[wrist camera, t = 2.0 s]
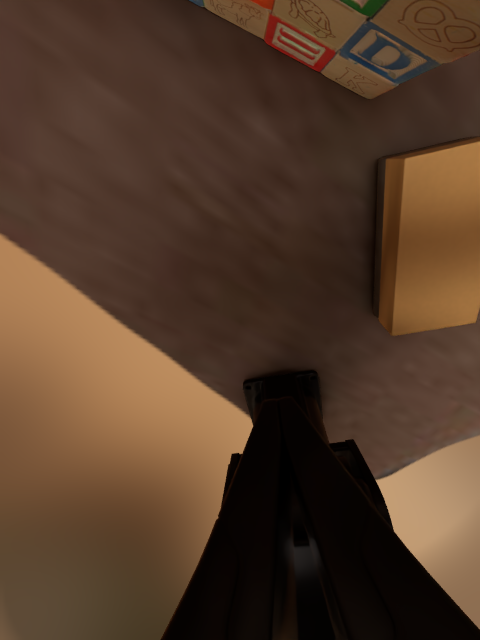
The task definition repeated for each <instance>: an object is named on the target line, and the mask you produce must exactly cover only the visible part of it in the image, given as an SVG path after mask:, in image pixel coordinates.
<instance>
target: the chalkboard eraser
mask: <svg viewBox="0 0 480 640" xmlns="http://www.w3.org/2000/svg"><path fill="white" fill-rule="evenodd" d="M479 307H480V137H479V136H476V137H469V138H463V139H458V140H454V141H449V142H445V143H441V144H437V145H432V146H428V147H424V148H419V149H415V150H411V151H406V152H402V153H398V154H394V155H389V156H385V157H381V158H379V159H378V181H377V211H376V241H375V271H374V301H373V314H374V316H376V317H377V318H379V322H380V323H381V324H382V325H383V326H384V328H385V329H386V330H387V331H388V332H389V334H390V335H391V336H396V335H402V334H408V333H415V332H421V331H427V330H433V329H440V328H446V327H452V326H458V325H465V324H471V323H476V319H477V315H478V311H479Z"/></svg>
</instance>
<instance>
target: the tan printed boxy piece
mask: <svg viewBox="0 0 480 640" xmlns="http://www.w3.org/2000/svg"><path fill="white" fill-rule="evenodd" d="M189 1H191V2H193V3H194V4H196V5H198V6H200V7H205V8H207V9H208V10H209V11H211V12H213V13H215V14H216V15H218V16H220V17H222V18H224V19H226V20H228V21H229V22H231V23H233V24H235V25H237V26H239V27H241V28H243V29H244V30H246V31H248V32H250V33H252V34H254V35H256V36H258V37H260V38H262V39H263V40H264V41H265V42H266V43H267V44H268V45H270V46H272V47H273V48H275V49H277V50H279V51H280V52H282V53H284V54H286V55H288V56H290V57H292V58H293V59H295V60H297V61H299V62H301V63H303V64H304V65H306V66H308V67H310V68H312V69H314V70H315V71H318V72H321V73H322V74H323V75H324V76H326V77H327V78H329V79H331V80H333V81H335V82H337V83H338V84H340V85H342V86H344V87H346V88H348V89H350V90H351V91H353V92H355V93H357V94H359V95H361V96H363V97H365V98H367V99H373V98H375V97H377V96H379V95H380V94H382V93H384V92H387V91H389V90H391V89H393V88H395V87H397V86H398V85H399V84H400V83H403V82H406V81H408V80H410V79H412V78H414V77H416V76H418V75H420V74H422V73H424V72H426V71H429V70H431V69H434V68H436V67H438V66H440V65H442V64H443V63H450V62H453V61H455V60H457V59H459V58H461V57H464V56H467V55H469V54H470V53H472V52H475V51H477V50H479V49H480V0H189Z"/></svg>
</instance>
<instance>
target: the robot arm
mask: <svg viewBox="0 0 480 640" xmlns="http://www.w3.org/2000/svg"><path fill="white" fill-rule="evenodd" d="M311 376H314V377H311ZM248 385H249V387H248ZM243 390H244V394H245V397H246V401H247V405H248V408H249V412H250V416H251V419H252V423H253V428H252V431H251V433H250V436H249V438H248V441H247V443H246V446H245V449H244V451H243V454H239V453H235V454H232V456H231V461H230V464H229V465H228V470H227V476H226V482H225V488H224V494H223V499H222V505H221V510H220V512H219V515H218V517H219V518H218V519H217V520H216V522H215V524H214V527H213V529H212V532H211V535H210V537H209V539H208V542H207V544H206V547H205V549H204V551H203V554H202V556H201V558H200V561H199V563H198V565H197V567H196V570H195V572H194V574H193V576H192V578H191V580H190V582H189V584H188V586H187V588H186V590H185V592H184V594H183V596H182V598H181V600H180V602H179V604H178V606H177V608H176V610H175V612H174V614H173V616H172V618H171V620H170V622H169V624H168V626H167V628H166V630H165V632H164V634H163V636H162V638H161V640H480V629H478V627H477V626H476V625H475V624H474V623H473V622H472V621H471V620H470V618H469V617H468V616H467V615H466V614H465V613H464V612H463V611H462V610H461V609H460V607H459V606H458V605H457V604H456V603H455V602H454V601H453V600H452V599H451V597H450V596H449V595H448V594H447V593H446V592H445V591H444V590H443V588H441V586H440V585H439V584H438V583H437V582H436V581H435V580H434V579H433V577H432V576H431V575H430V574H429V573H428V572H427V570H426V569H425V568H424V567H423V566H422V565H421V563H420V562H419V561H418V560H417V559H416V558H415V557H414V555H413V554H412V553H411V552H410V551H409V550H408V549H407V547H406V546H405V545H404V544H403V542H402V541H401V540H400V538H399V537H398V536H397V535H396V533H395V532H394V530H393V526H392V522H391V518H390V515H389V512H388V509H387V506H386V504H385V500H384V498H383V495H382V493H381V491H380V489H379V486H378V485H377V482H376V480H375V479H374V477H373V475H372V473H371V471H370V469H369V467H368V466H367V464H366V462H365V460H364V458H363V456H362V454H361V453H360V451H359V449H358V447H357V445H356V443H355V441H354V440H353V439H350V440H345V442H337V443H329V440H328V436H327V433H326V430H325V427H324V423H323V417H322V406H321V395H320V384H319V376H318V373H317V372H316V371H314V370H311V371H305V372H298V373H292V374H285V375H278V376H272V377H265V378H259V379H252V380H246V381H245V382H244V383H243Z"/></svg>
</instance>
